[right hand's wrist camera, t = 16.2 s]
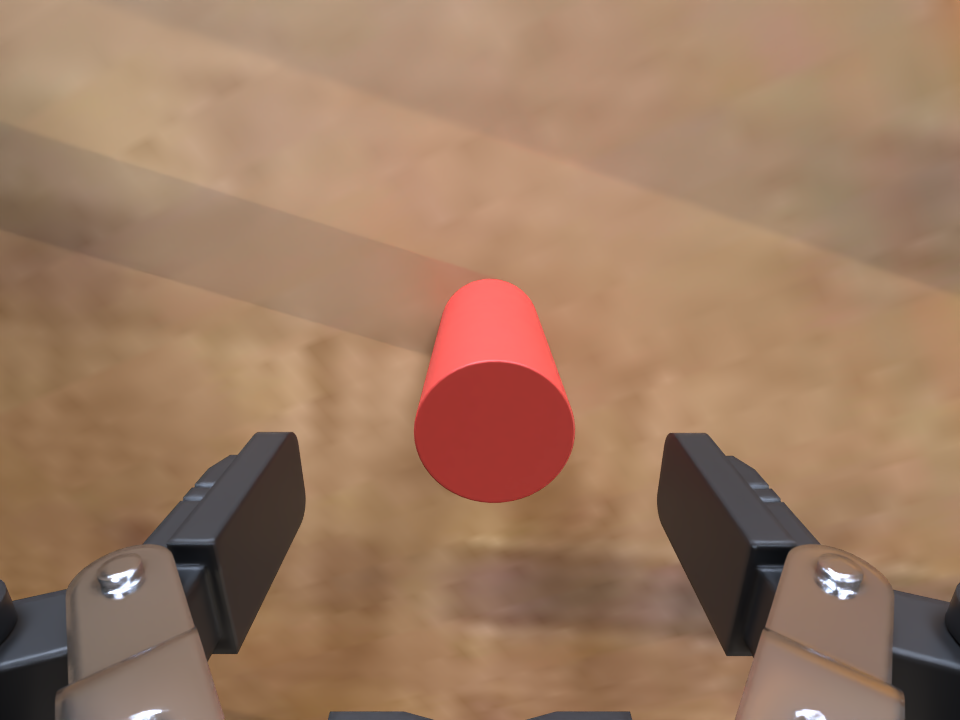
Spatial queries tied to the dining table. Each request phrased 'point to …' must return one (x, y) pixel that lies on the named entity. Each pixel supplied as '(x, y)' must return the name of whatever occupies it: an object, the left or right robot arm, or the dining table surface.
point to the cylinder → (493, 399)
